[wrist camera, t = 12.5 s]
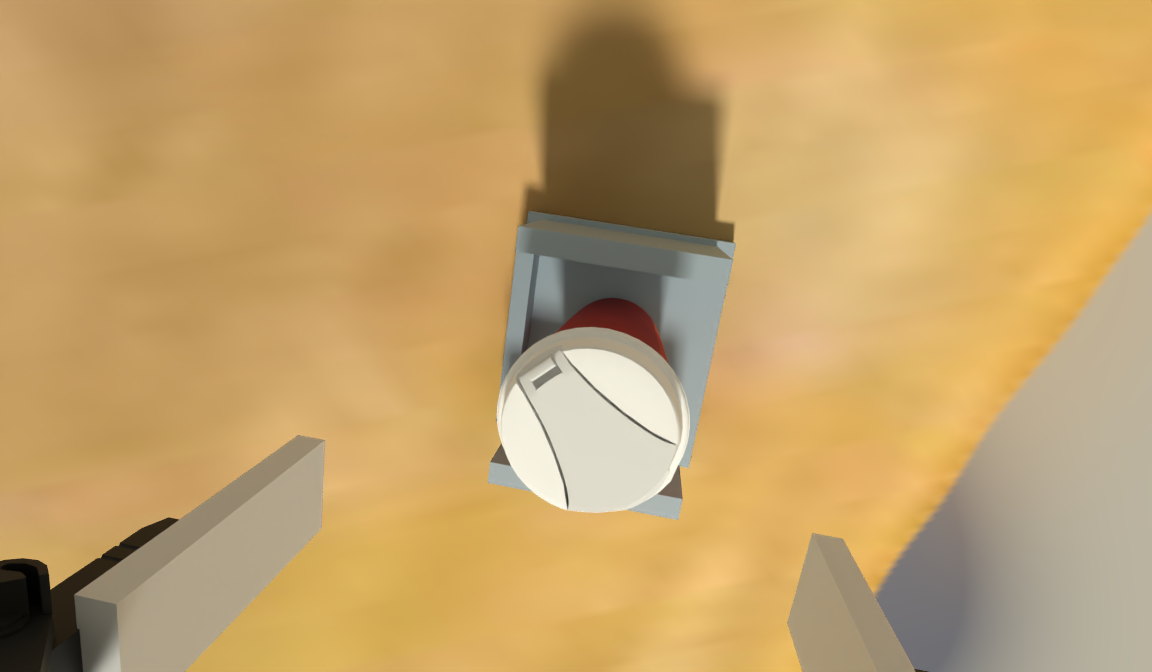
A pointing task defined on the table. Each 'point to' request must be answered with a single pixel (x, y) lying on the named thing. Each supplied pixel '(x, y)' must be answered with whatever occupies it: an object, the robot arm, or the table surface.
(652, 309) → the holder
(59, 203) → the table surface
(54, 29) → the table surface
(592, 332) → the paper cup
